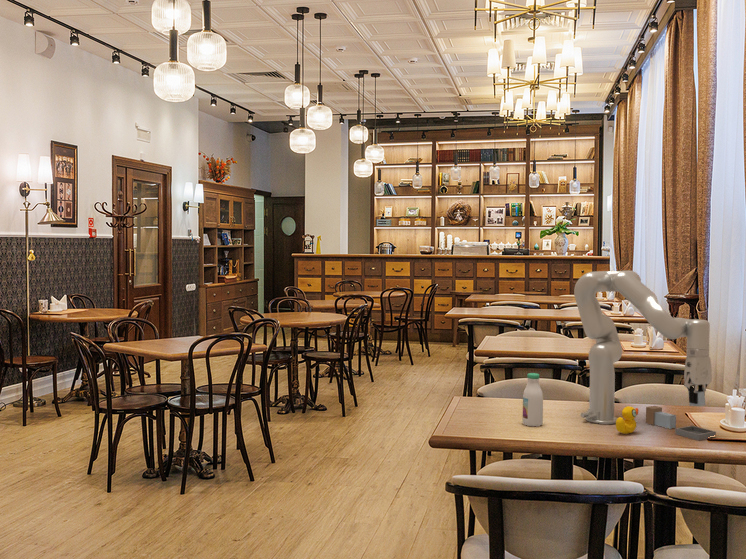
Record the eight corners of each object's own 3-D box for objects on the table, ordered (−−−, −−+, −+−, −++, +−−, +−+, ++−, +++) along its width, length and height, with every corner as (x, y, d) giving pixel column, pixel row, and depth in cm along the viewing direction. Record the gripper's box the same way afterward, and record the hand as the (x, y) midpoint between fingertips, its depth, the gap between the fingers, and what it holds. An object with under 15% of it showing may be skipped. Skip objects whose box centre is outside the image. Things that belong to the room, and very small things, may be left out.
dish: (698, 440, 246) (698, 434, 246) (675, 434, 254) (675, 428, 254) (715, 437, 251) (715, 431, 251) (692, 430, 259) (692, 425, 259)
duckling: (631, 429, 261) (631, 403, 260) (643, 432, 256) (643, 406, 256) (611, 433, 255) (612, 407, 254) (623, 437, 250) (624, 410, 250)
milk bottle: (544, 423, 269) (545, 373, 268) (540, 427, 262) (541, 376, 261) (524, 421, 272) (525, 371, 271) (520, 425, 265) (521, 374, 264)
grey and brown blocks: (668, 429, 261) (668, 412, 261) (645, 423, 270) (646, 407, 270) (677, 427, 263) (677, 411, 263) (654, 421, 273) (654, 405, 272)
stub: (699, 406, 249) (697, 392, 249) (689, 405, 253) (688, 391, 253) (705, 405, 251) (704, 391, 251) (695, 404, 254) (694, 390, 255)
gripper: (692, 356, 244) (691, 407, 245) (721, 352, 252) (720, 402, 253) (674, 353, 251) (673, 402, 251) (702, 350, 258) (701, 398, 259)
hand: (696, 402), depth 252 cm, fingers closed on stub, 3 cm apart
